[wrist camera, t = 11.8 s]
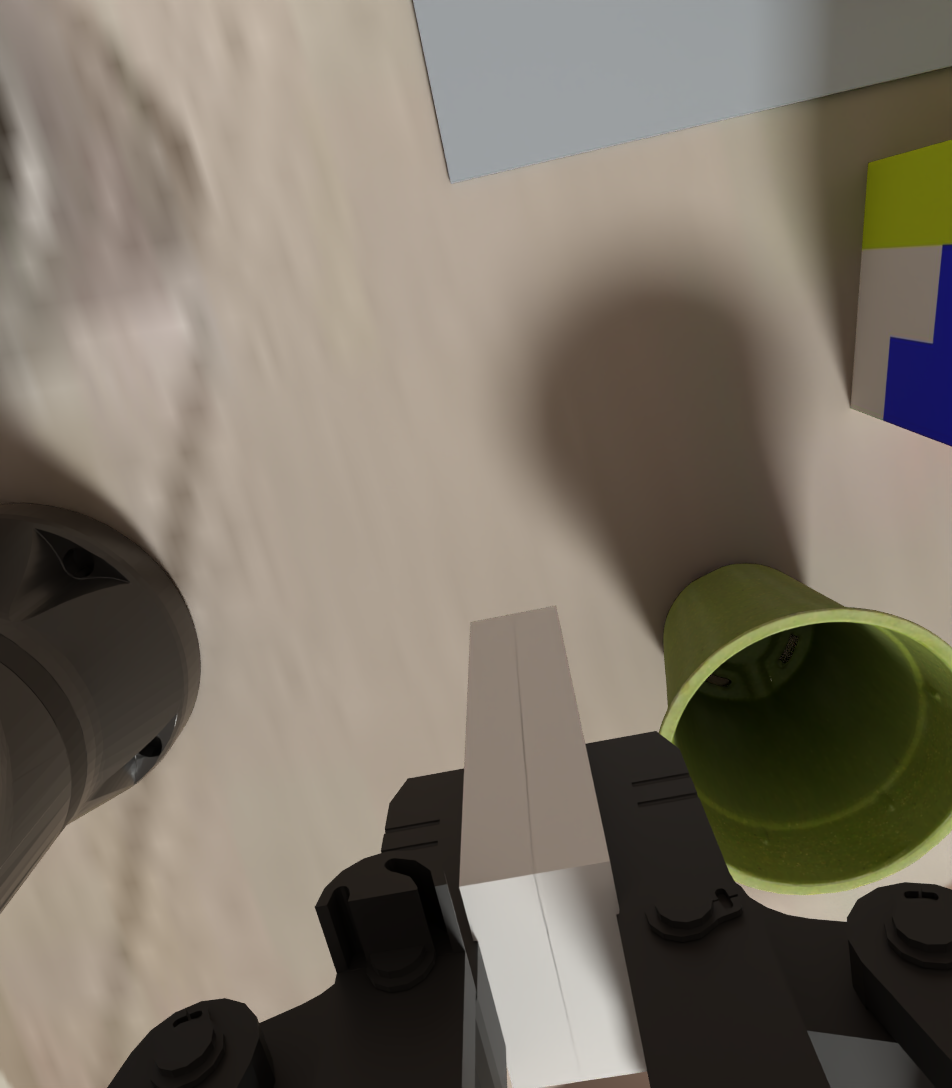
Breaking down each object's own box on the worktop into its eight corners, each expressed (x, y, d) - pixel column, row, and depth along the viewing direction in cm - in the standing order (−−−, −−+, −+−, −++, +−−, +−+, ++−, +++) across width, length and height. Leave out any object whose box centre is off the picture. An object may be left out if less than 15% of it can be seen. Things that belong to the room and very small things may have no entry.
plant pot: (599, 535, 39) (640, 634, 29) (856, 498, 39) (998, 586, 28) (624, 754, 43) (669, 915, 32) (860, 724, 42) (986, 878, 32)
